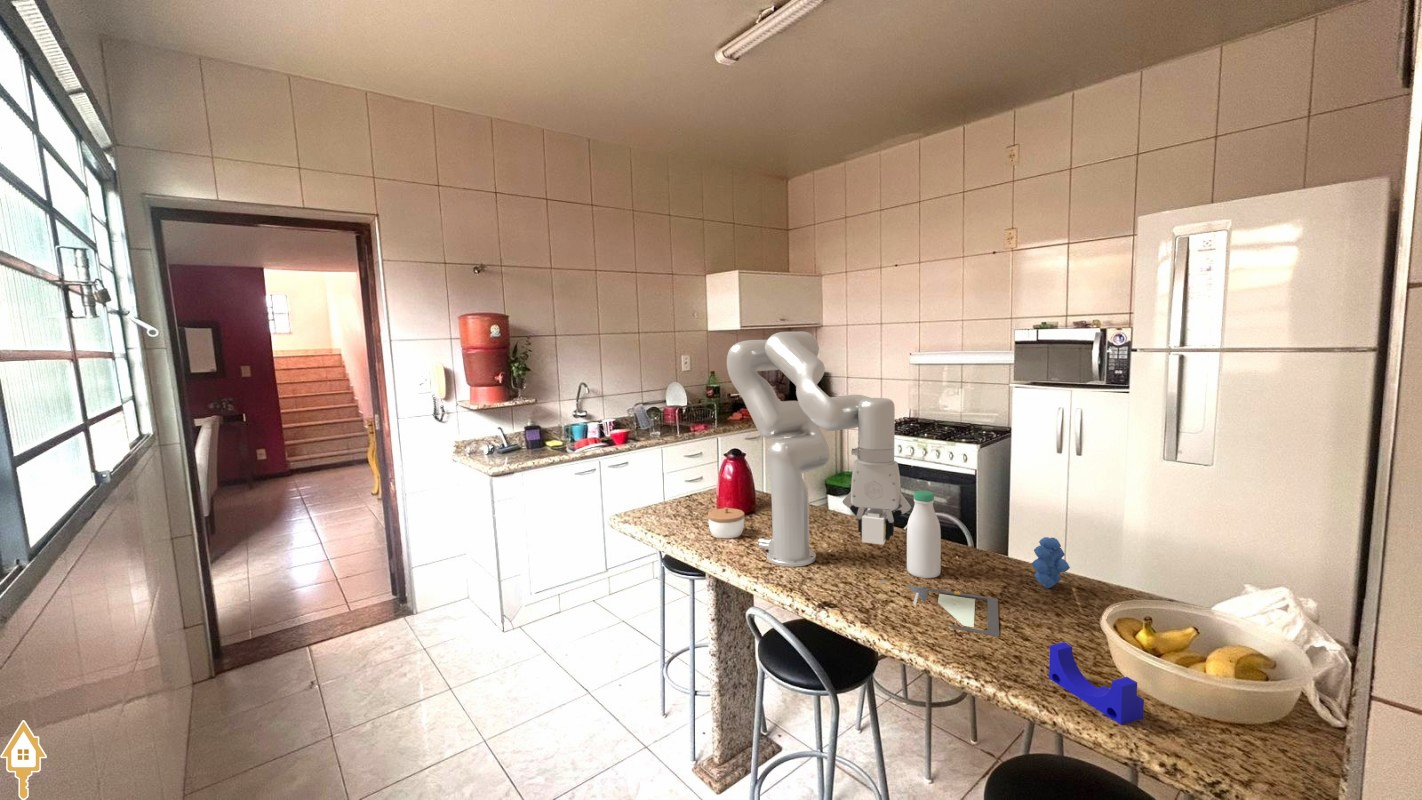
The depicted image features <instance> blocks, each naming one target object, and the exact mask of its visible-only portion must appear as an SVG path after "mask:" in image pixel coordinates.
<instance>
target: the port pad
mask: <svg viewBox="0 0 1422 800" xmlns="http://www.w3.org/2000/svg"><path fill="white" fill-rule="evenodd" d="M937 599H938V600H937V603H938V604H939V606H941V607H942V608H943V609H945V611H947V612H948V613H949V615H951V616H952V617H953V618H954V619H956V620H957V622H959V623H960V624H961V625H962V627H964V626H965V627H967V628H972V629H975V609H976V598H969V597H963V596H956V595H950V594H945V593H939V594H938V598H937Z"/></svg>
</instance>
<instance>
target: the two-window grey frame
mask: <svg viewBox="0 0 1422 800" xmlns="http://www.w3.org/2000/svg"><path fill="white" fill-rule="evenodd" d="M879 583H883V584H886V580H883V579H881V580H880V581H879ZM906 586H907V588H909V589H910V590H911V591H912V592H913V593H914V594H915V596H914V599H913V602H912V604H913V605H914V606H915V607H916V606H917V603H918V598H919V599H920V600H922V601H923V603H926V602H927V601H926V600H927V597H928V593H929V592H933V593H934V592H935V593H939V594H944V595H951V596H957V597H964V598H970V599H975V600H977V599H978V600H981V601H982V600H984V601H987V611H986V612H987V616H986V617H987V619H986V620H987V622H986V623H987V625H986V626H987V627H986V628H987V630H981V629H977V628H976V629H975V628H972V627H966V626H965V627H964V626H958V625H955V624H954V625H952V624H948V626H949V627H950V628H953V629H956V630H957V629H958V630H963V631H967V632H972V633H977V634H983V635H986V636H992V637H996V638H1000V623H999V622H1000V621H999V599H998V598H996V597H990V596H983V595H976V594H971V593H970V594H969V593H963V592H961V591H957V590H956V591H948V590H943V589H938V588H937V589H936V588H930V587H929V588H928V587H924V586H923V587H922V586H916V585H915V586H914V585H910V584H906Z"/></svg>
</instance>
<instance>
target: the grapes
mask: <svg viewBox="0 0 1422 800" xmlns="http://www.w3.org/2000/svg"><path fill="white" fill-rule="evenodd" d="M1038 543H1039V545H1038V546H1036V547H1035V548H1034V549H1033V552H1034V554H1035V555H1036V557H1037V558H1036V559H1034V560H1033V561H1032V562H1031V564H1032V567H1033V569H1034V570H1035V571H1036V572H1035V573H1034V574H1033V575H1034V577H1035V580H1036V581H1037V582H1038V583H1040V584H1041V585H1042V586H1043V587H1045V588H1046V589H1051V588H1052V587H1054V586H1055V585H1056V584H1057V583H1059V582H1060V581H1061V580H1062V577H1061V575H1060V574H1061V573H1066V572H1068V570H1070V569H1071V567H1070V565H1069V563H1068V562H1067V561H1066V560H1065V559H1063V558H1064V557H1065V555H1066V554H1065V553H1064V550H1063V549H1062V545H1061V543H1060V542H1059V540H1058V538H1056V537H1048V536H1045V537H1044V536H1043V538H1041V539H1040V540H1039V541H1038Z"/></svg>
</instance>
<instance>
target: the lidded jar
mask: <svg viewBox="0 0 1422 800" xmlns="http://www.w3.org/2000/svg"><path fill="white" fill-rule="evenodd" d="M707 519H708V526H709V531H710V533H711V535H712V536H714V537H716V538H719V539H734V538H738V537H740V536H741V535H742V533H743V531H744V527H745V512H744V511H743V510H741V509H738V508H729V507H723V508H717V509H714V510H713V509H712V510H711V511H709V512H708V514H707Z"/></svg>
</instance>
